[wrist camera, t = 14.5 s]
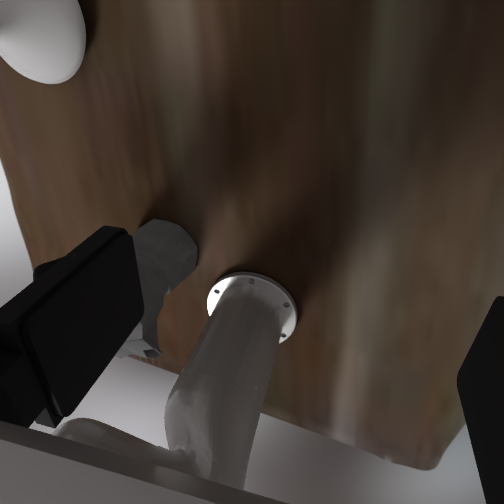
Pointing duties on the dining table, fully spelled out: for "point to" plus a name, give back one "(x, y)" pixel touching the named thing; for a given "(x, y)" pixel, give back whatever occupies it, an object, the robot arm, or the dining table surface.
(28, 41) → the flower in vase
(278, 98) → the dining table surface
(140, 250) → the coffeepot
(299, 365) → the dining table surface
